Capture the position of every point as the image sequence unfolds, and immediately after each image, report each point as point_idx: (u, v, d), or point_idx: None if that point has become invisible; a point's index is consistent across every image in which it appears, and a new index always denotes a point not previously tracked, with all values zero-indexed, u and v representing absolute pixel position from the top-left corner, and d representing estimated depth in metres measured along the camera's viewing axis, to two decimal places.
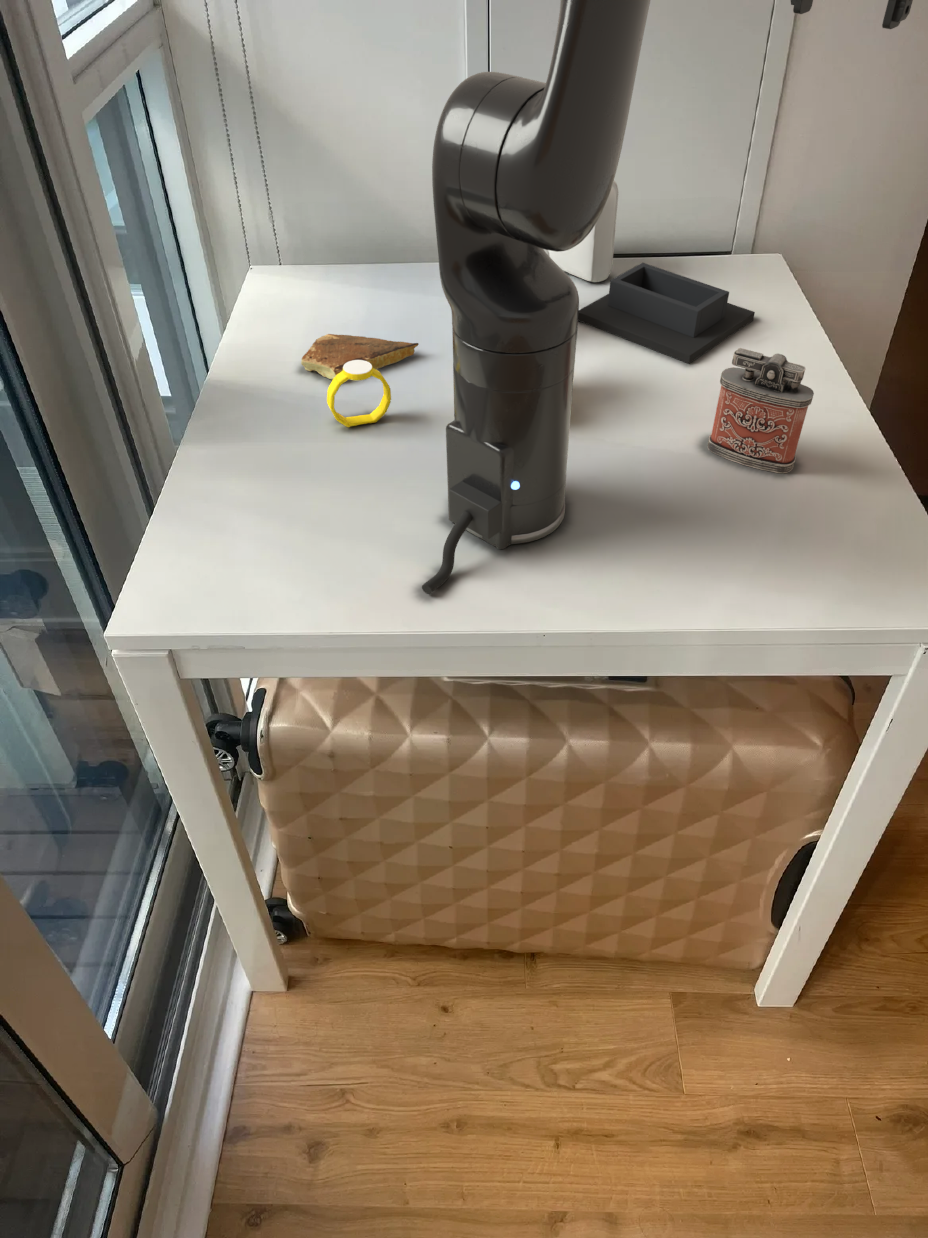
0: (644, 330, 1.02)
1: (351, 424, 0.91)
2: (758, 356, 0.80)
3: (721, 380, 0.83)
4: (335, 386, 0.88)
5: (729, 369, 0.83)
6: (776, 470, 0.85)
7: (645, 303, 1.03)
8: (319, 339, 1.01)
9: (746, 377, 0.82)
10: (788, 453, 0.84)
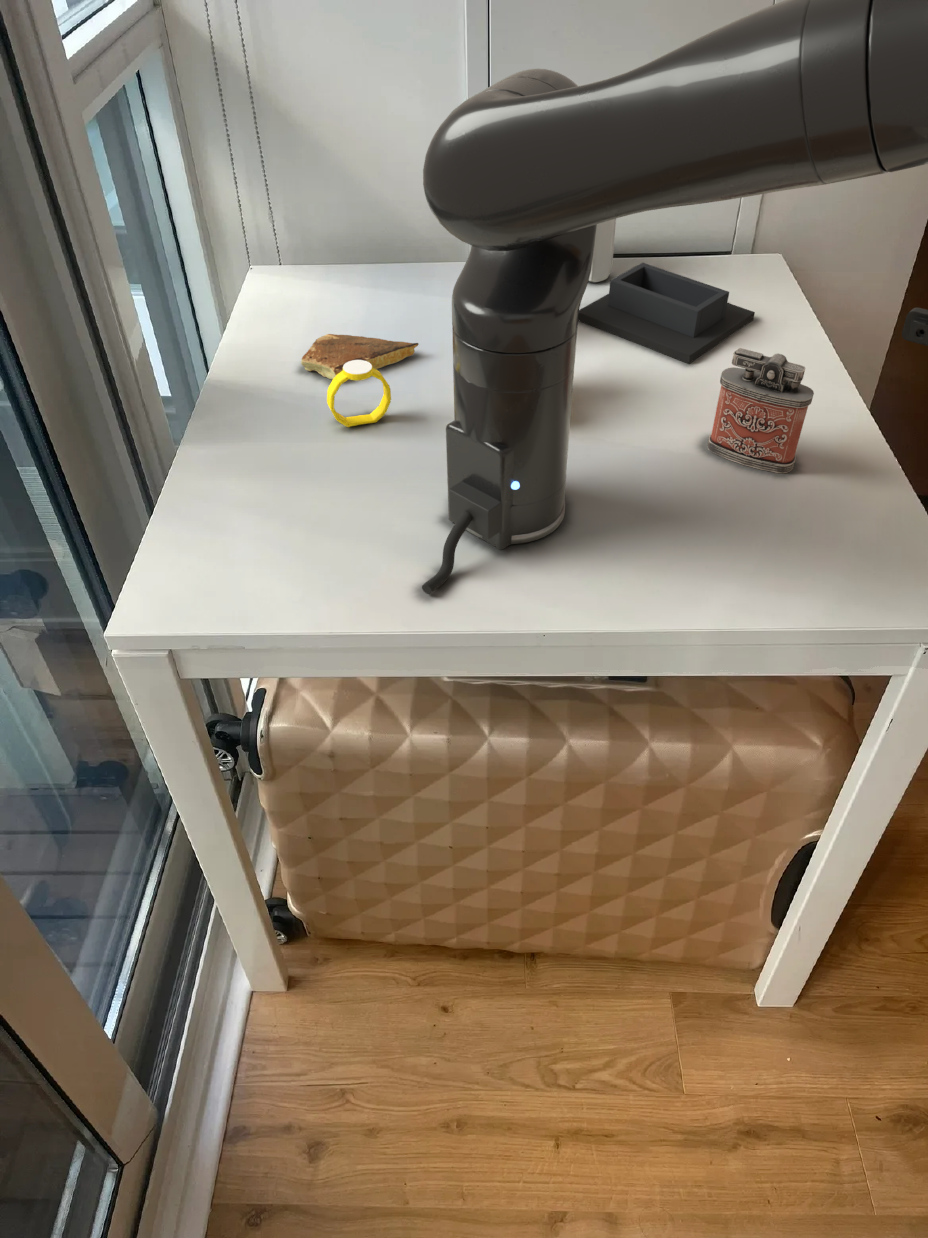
0: (644, 330, 1.02)
1: (351, 424, 0.91)
2: (758, 356, 0.80)
3: (721, 380, 0.83)
4: (335, 386, 0.88)
5: (729, 369, 0.83)
6: (776, 470, 0.85)
7: (645, 303, 1.03)
8: (319, 339, 1.01)
9: (746, 377, 0.82)
10: (788, 453, 0.84)
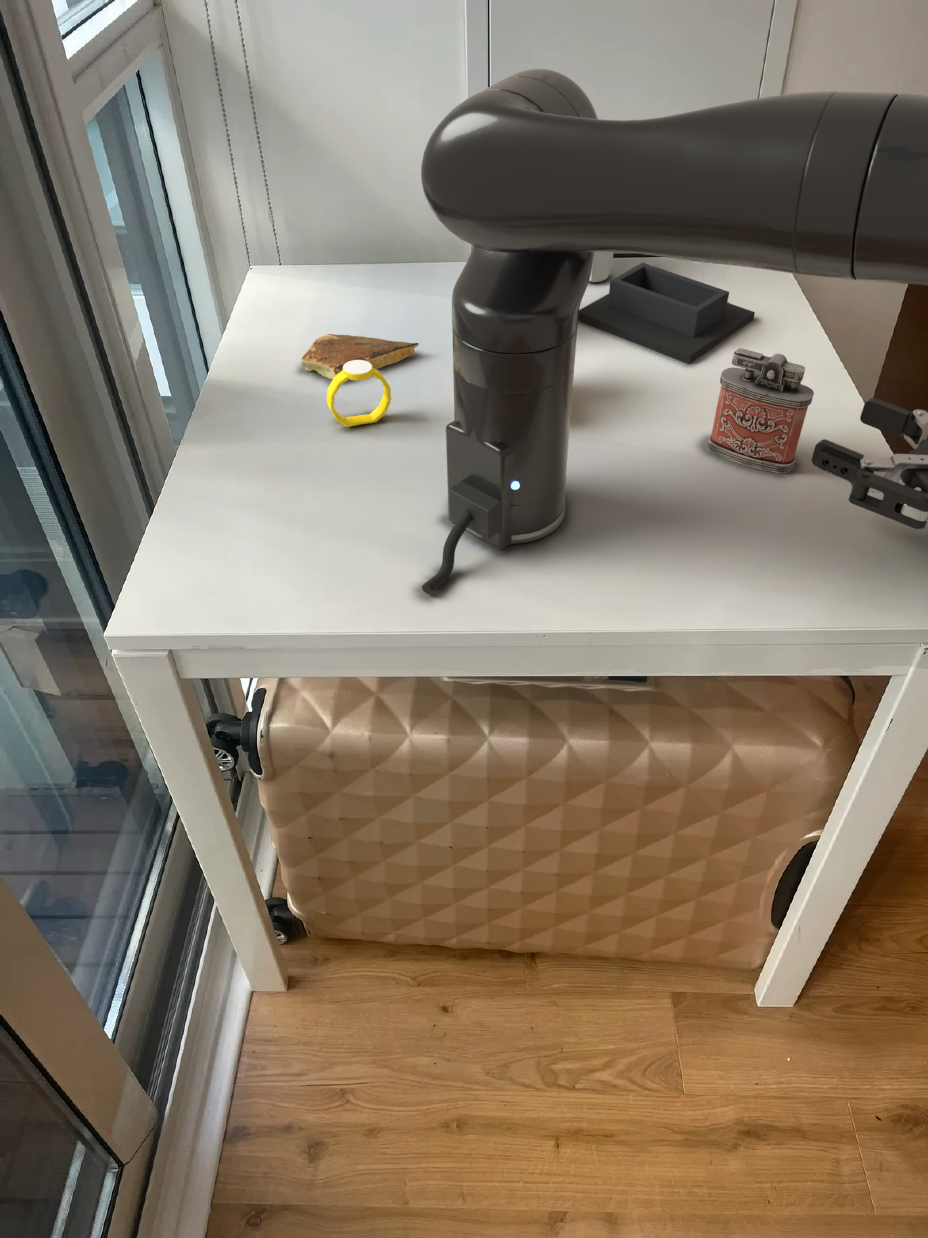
0: (644, 330, 1.02)
1: (351, 424, 0.91)
2: (758, 356, 0.80)
3: (721, 380, 0.83)
4: (335, 386, 0.88)
5: (729, 369, 0.83)
6: (776, 470, 0.85)
7: (645, 303, 1.03)
8: (319, 339, 1.01)
9: (746, 377, 0.82)
10: (788, 453, 0.84)
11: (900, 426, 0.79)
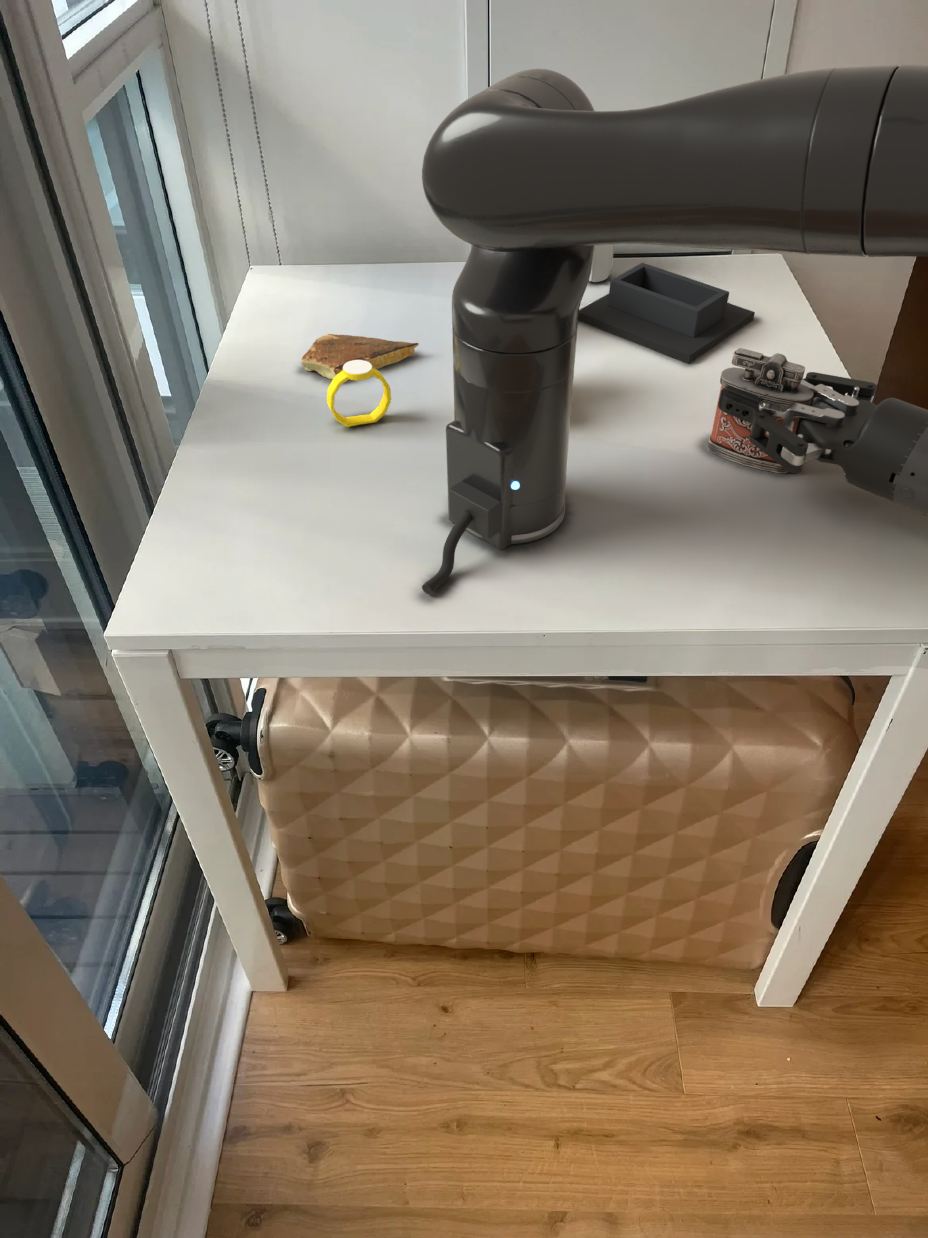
0: (644, 330, 1.02)
1: (351, 424, 0.91)
2: (758, 356, 0.80)
3: (721, 380, 0.83)
4: (335, 386, 0.88)
5: (729, 369, 0.83)
6: (776, 470, 0.85)
7: (645, 303, 1.03)
8: (319, 339, 1.01)
9: (746, 377, 0.82)
10: None
11: None
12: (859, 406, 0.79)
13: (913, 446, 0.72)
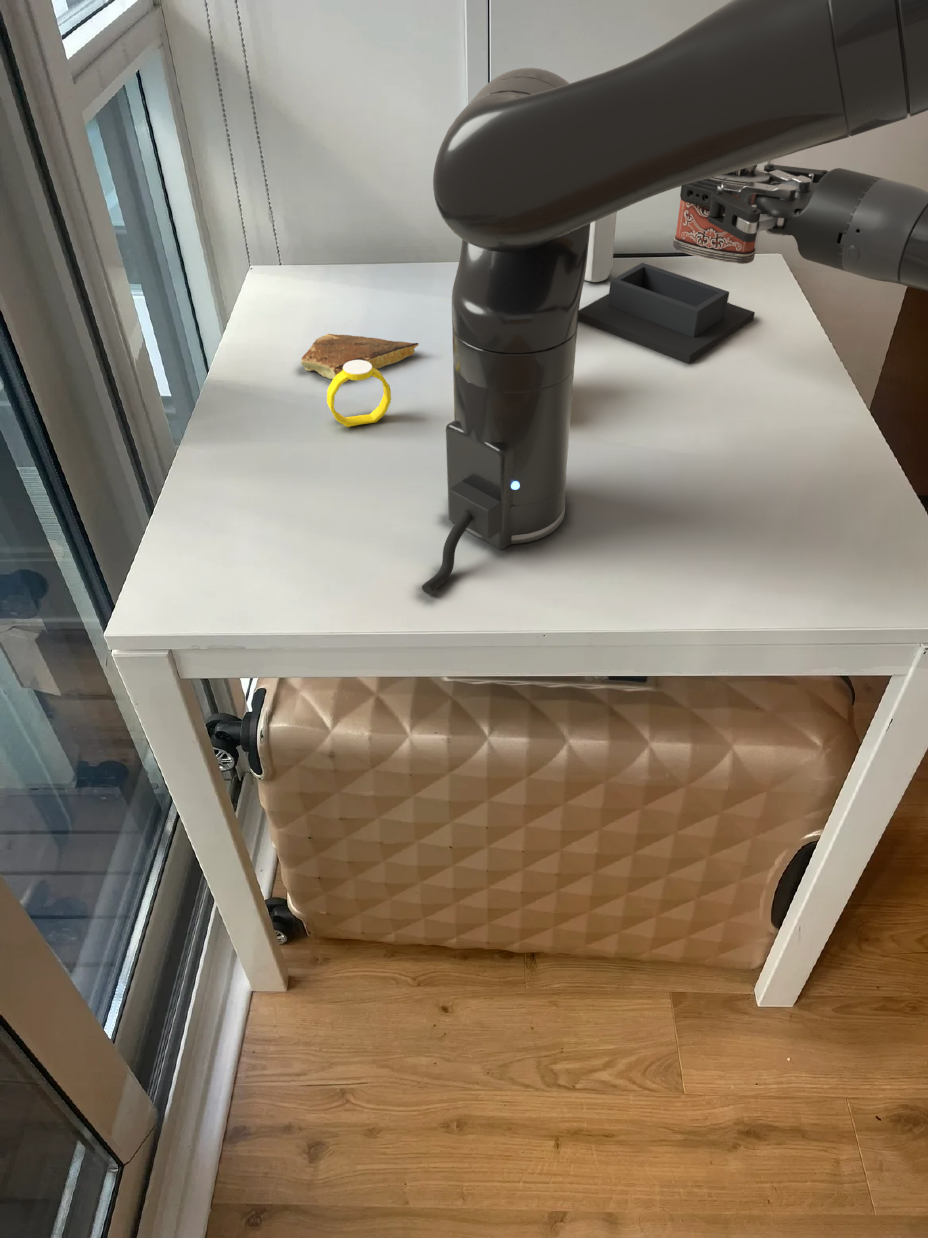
0: (644, 330, 1.02)
1: (351, 424, 0.91)
2: None
3: None
4: (335, 386, 0.88)
5: None
6: (736, 261, 0.89)
7: (645, 303, 1.03)
8: (319, 339, 1.01)
9: None
10: (747, 242, 0.88)
11: None
12: (812, 186, 0.84)
13: (858, 203, 0.77)
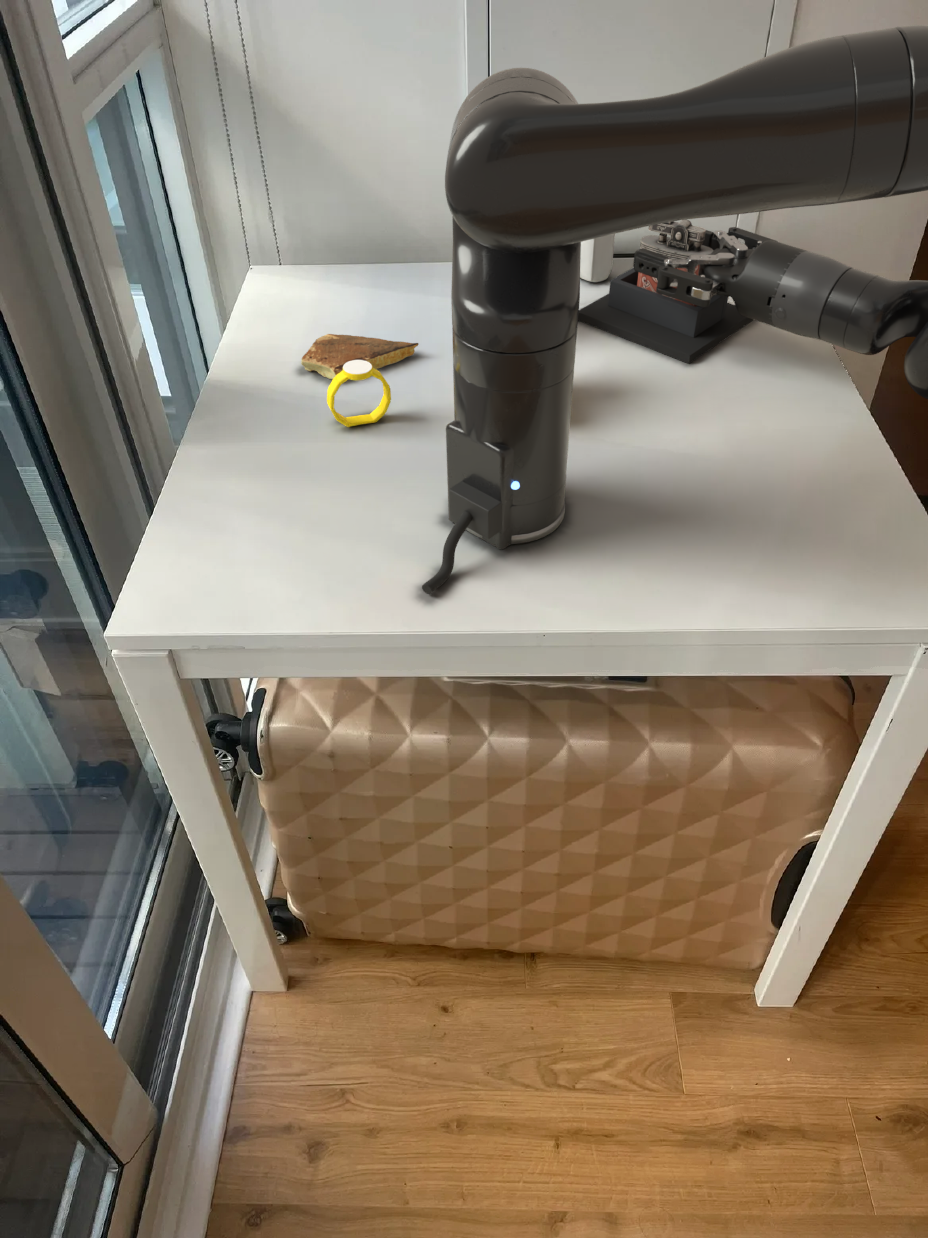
0: (644, 330, 1.02)
1: (351, 424, 0.91)
2: None
3: (640, 244, 1.01)
4: (335, 386, 0.88)
5: (647, 236, 1.02)
6: None
7: (645, 303, 1.03)
8: (319, 339, 1.01)
9: (660, 240, 1.00)
10: (696, 305, 1.02)
11: (706, 244, 1.02)
12: (749, 252, 0.97)
13: (784, 273, 0.90)
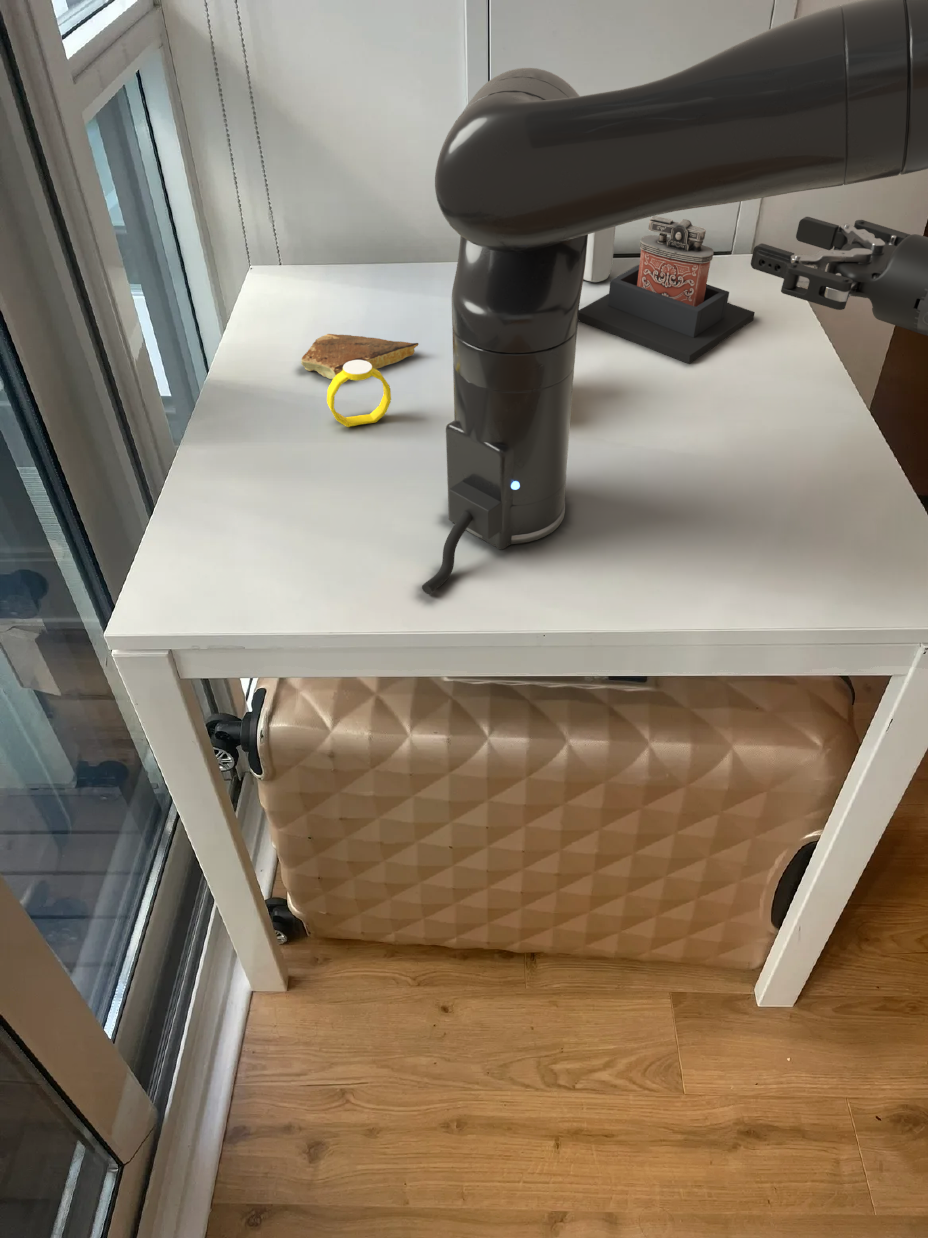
0: (644, 330, 1.02)
1: (351, 424, 0.91)
2: (668, 221, 0.99)
3: (640, 244, 1.01)
4: (335, 386, 0.88)
5: (647, 236, 1.02)
6: None
7: (645, 303, 1.03)
8: (319, 339, 1.01)
9: (660, 240, 1.00)
10: (696, 305, 1.02)
11: (829, 239, 0.91)
12: (885, 248, 0.86)
13: None
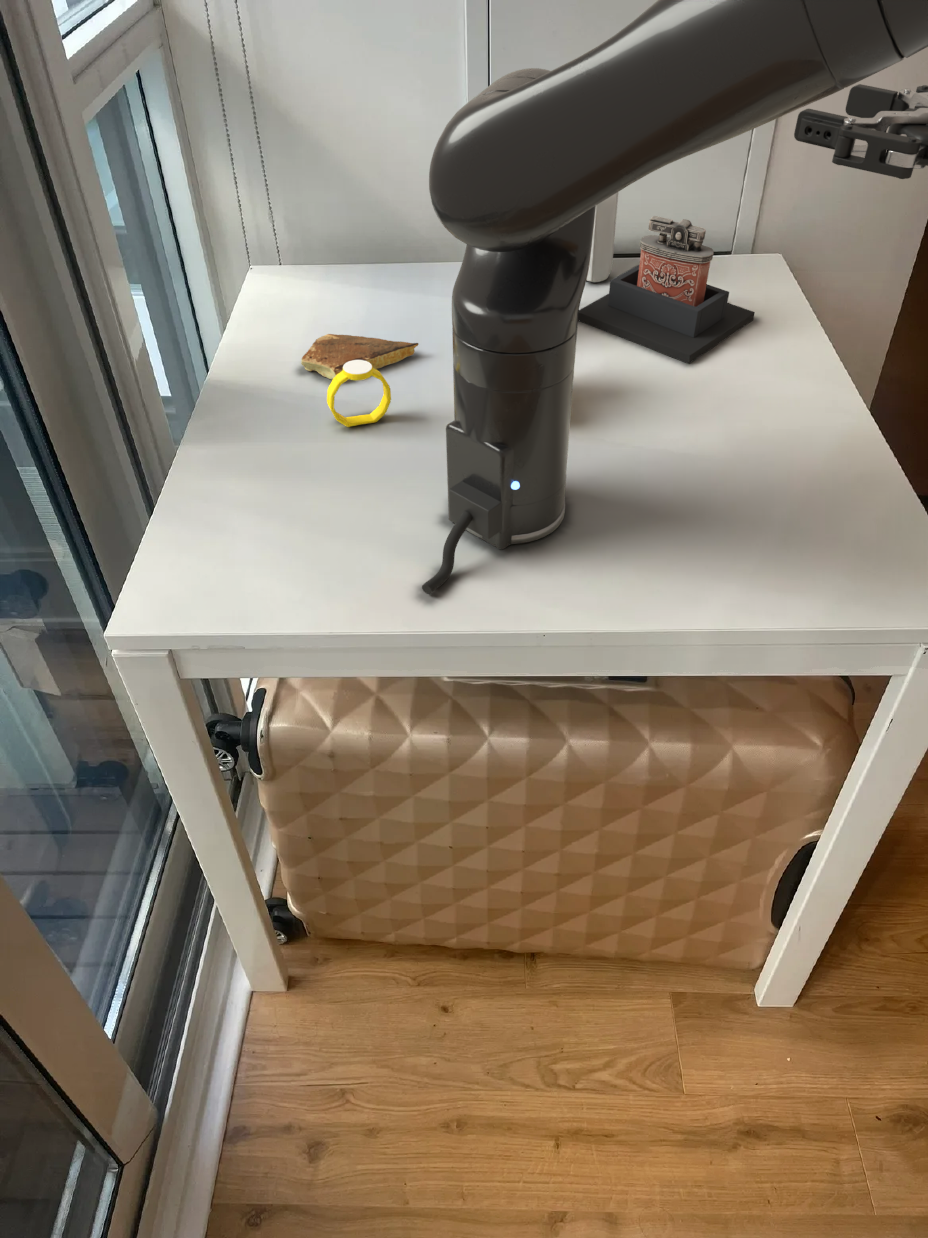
0: (644, 330, 1.02)
1: (351, 424, 0.91)
2: (668, 221, 0.99)
3: (640, 244, 1.01)
4: (335, 386, 0.88)
5: (647, 236, 1.02)
6: None
7: (645, 303, 1.03)
8: (319, 339, 1.01)
9: (660, 240, 1.00)
10: (696, 305, 1.02)
11: (886, 109, 0.77)
12: None
13: None
